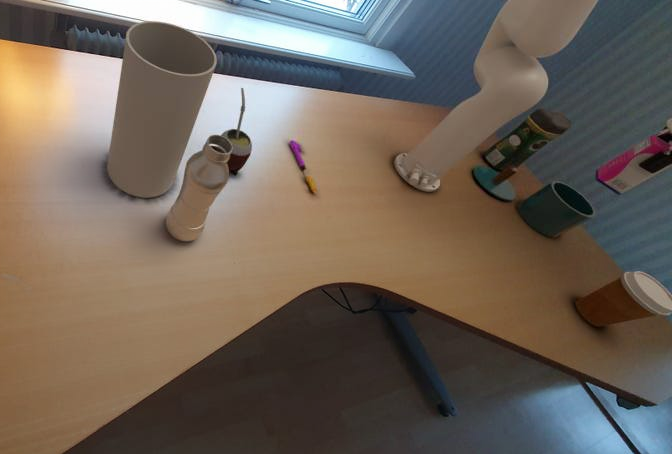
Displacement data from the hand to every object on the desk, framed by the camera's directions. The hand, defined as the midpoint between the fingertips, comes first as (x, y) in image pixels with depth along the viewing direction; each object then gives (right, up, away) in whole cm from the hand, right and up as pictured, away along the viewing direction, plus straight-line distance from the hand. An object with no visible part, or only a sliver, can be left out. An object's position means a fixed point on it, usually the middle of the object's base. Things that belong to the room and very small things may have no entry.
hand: (642, 161), depth 81 cm
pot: (-5, -12, +19) cm, 23 cm away
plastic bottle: (-101, -15, -17) cm, 104 cm away
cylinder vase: (-109, -5, -12) cm, 110 cm away
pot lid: (-14, -2, +23) cm, 27 cm away
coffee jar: (-7, +5, +32) cm, 33 cm away
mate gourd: (-93, -2, -4) cm, 93 cm away
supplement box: (-2, -4, +6) cm, 7 cm away
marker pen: (-74, -1, +3) cm, 74 cm away
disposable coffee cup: (-10, -34, +2) cm, 36 cm away
